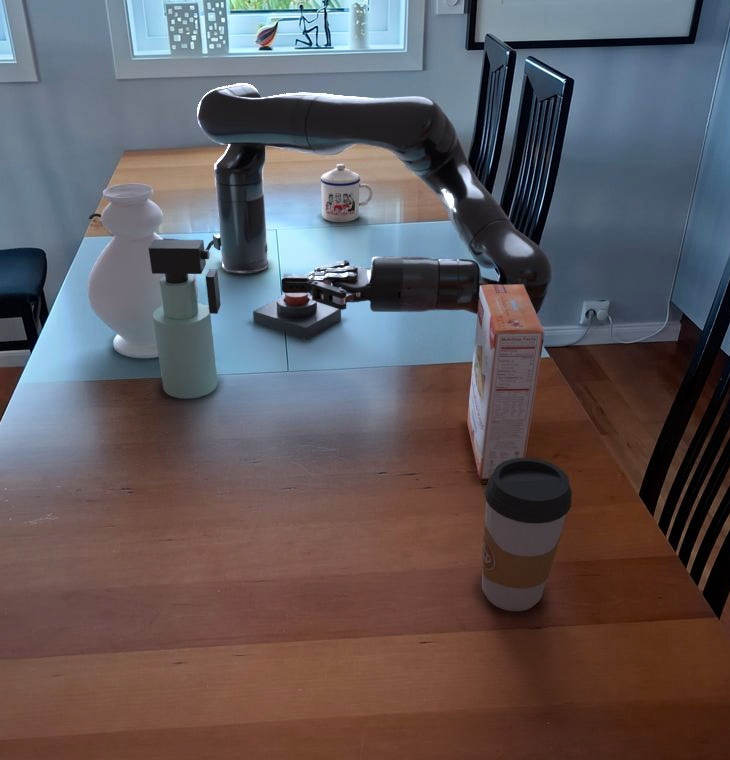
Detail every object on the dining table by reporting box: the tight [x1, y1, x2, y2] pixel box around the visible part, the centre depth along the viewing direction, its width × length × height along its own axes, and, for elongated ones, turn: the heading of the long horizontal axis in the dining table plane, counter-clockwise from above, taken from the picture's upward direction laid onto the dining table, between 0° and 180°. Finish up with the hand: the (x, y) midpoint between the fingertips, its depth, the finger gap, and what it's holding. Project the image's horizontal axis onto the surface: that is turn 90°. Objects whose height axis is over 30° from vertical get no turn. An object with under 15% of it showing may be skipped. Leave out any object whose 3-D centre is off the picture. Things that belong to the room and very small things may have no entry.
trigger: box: [205, 268, 222, 315], centre depth 116 cm, size 1×3×6 cm, turn 176°
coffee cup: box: [481, 457, 573, 612], centre depth 83 cm, size 8×8×15 cm
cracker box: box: [466, 284, 545, 480], centre depth 103 cm, size 14×6×21 cm, turn 178°
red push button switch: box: [252, 293, 342, 340], centre depth 143 cm, size 12×10×4 cm
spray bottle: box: [148, 239, 219, 400], centre depth 119 cm, size 9×8×22 cm
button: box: [284, 293, 308, 305], centre depth 141 cm, size 4×4×2 cm
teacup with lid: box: [320, 163, 374, 223], centre depth 187 cm, size 12×9×12 cm
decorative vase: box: [86, 182, 199, 359], centre depth 131 cm, size 18×18×25 cm
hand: (282, 283), depth 115 cm, fingers closed
